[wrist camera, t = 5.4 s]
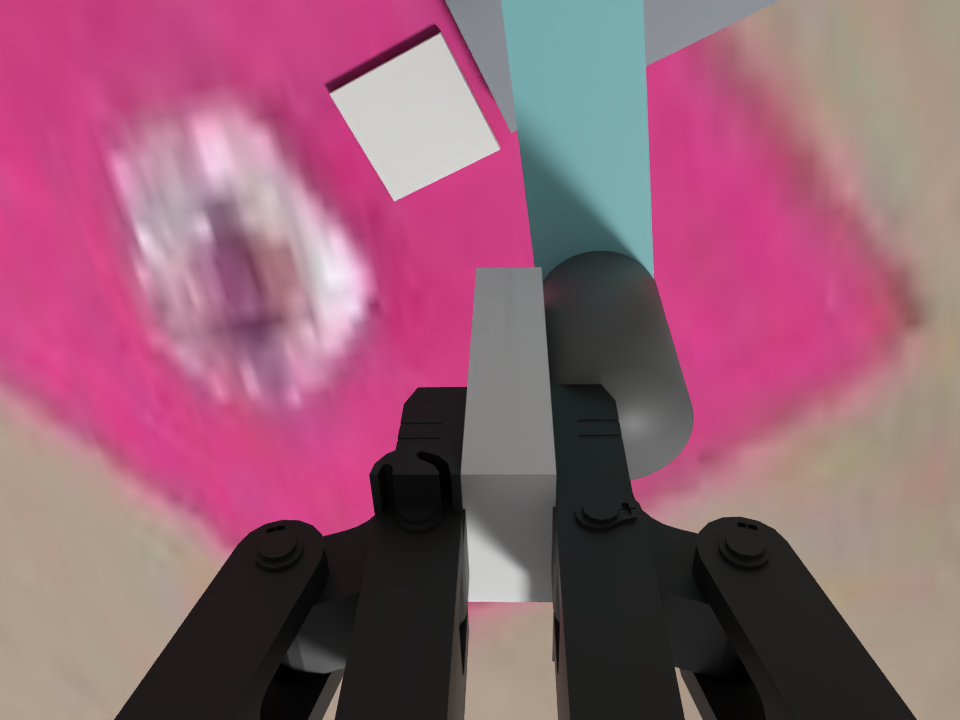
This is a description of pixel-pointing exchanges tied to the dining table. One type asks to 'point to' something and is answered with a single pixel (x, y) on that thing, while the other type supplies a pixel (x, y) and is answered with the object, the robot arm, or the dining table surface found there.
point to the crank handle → (596, 212)
